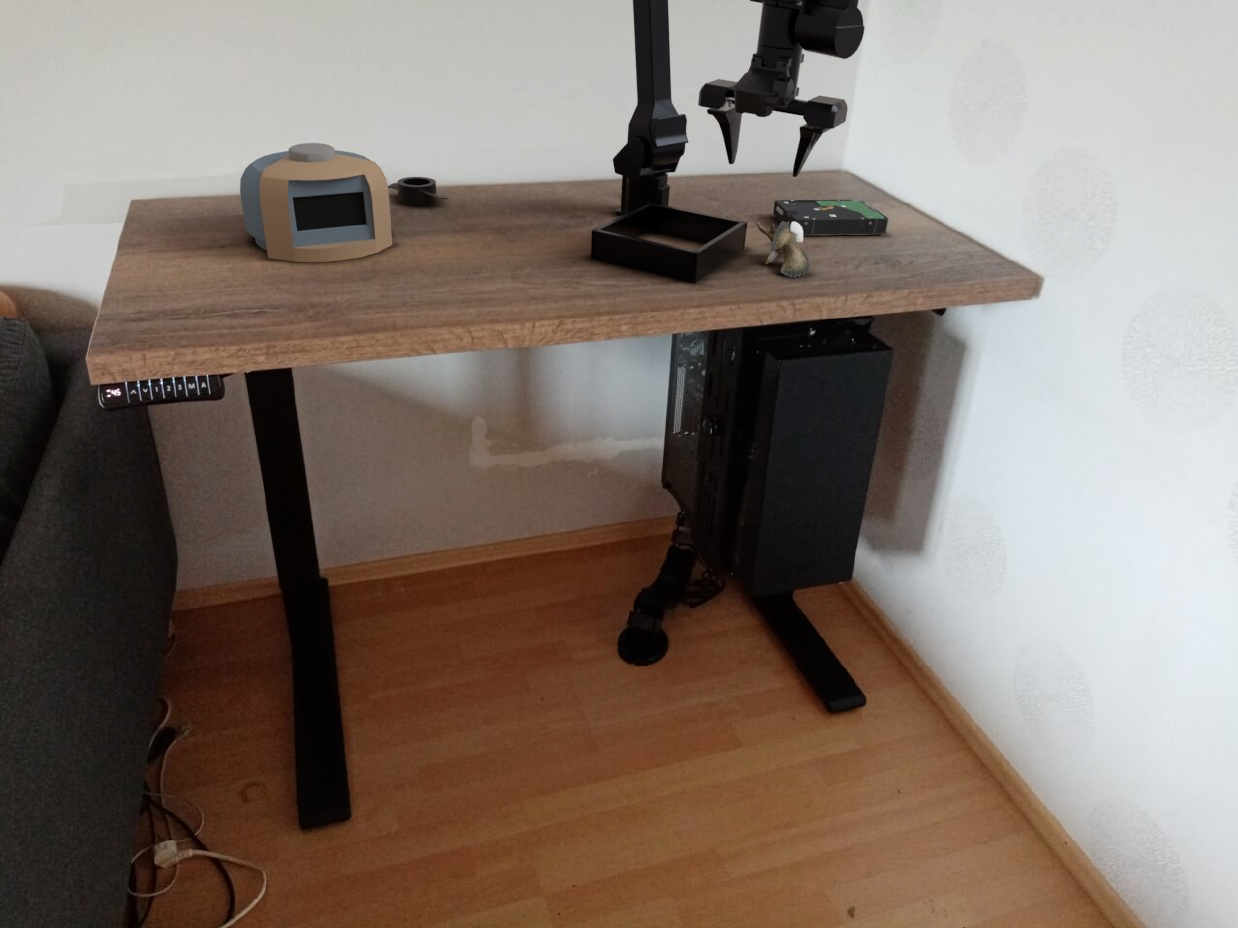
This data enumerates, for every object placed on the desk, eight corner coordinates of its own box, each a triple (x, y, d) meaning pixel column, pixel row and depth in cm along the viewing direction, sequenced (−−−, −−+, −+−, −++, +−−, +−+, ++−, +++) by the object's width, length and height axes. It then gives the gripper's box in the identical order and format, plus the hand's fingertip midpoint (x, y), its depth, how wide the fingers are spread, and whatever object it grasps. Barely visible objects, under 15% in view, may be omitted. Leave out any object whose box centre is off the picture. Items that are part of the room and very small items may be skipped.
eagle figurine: (739, 247, 136) (758, 256, 127) (769, 202, 134) (790, 209, 126) (780, 276, 138) (802, 288, 130) (810, 233, 137) (834, 242, 128)
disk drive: (794, 238, 145) (887, 235, 147) (796, 219, 143) (890, 217, 146) (771, 217, 153) (859, 215, 156) (773, 199, 152) (862, 197, 155)
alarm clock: (262, 269, 122) (248, 171, 116) (235, 223, 137) (222, 134, 131) (411, 252, 130) (405, 160, 124) (370, 211, 145) (363, 127, 139)
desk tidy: (590, 259, 132) (591, 230, 130) (646, 229, 144) (648, 202, 142) (695, 283, 126) (697, 253, 124) (744, 249, 138) (747, 222, 136)
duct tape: (434, 190, 156) (433, 172, 155) (450, 208, 149) (449, 188, 147) (385, 193, 154) (384, 175, 152) (400, 211, 146) (398, 192, 144)
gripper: (686, 42, 121) (674, 169, 129) (830, 63, 113) (808, 197, 122) (722, 33, 129) (709, 153, 137) (858, 53, 122) (836, 178, 130)
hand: (763, 170), depth 131 cm, fingers open, 9 cm apart
